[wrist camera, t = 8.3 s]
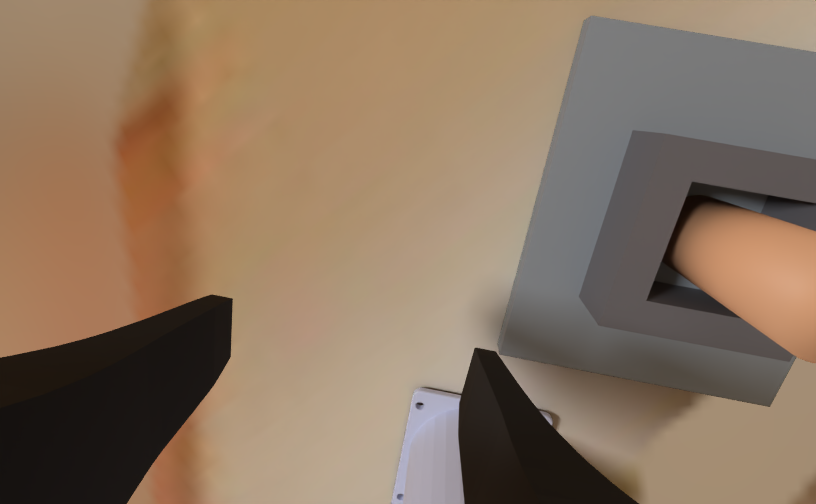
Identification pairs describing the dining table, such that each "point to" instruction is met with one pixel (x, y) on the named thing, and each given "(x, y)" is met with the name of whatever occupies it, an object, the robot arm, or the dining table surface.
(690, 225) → the peg
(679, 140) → the socket board
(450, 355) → the dining table surface
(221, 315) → the robot arm
